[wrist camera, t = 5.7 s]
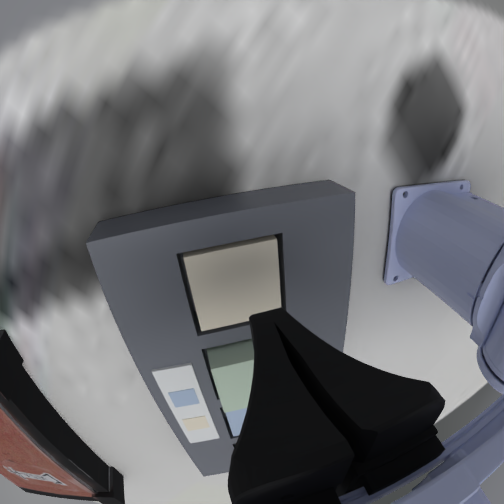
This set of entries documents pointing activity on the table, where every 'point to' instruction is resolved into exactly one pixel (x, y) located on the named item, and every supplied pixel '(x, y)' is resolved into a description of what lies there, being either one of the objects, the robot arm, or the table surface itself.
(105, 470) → the book
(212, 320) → the sand key
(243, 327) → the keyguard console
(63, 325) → the table surface
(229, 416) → the slate key
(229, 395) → the sage key
